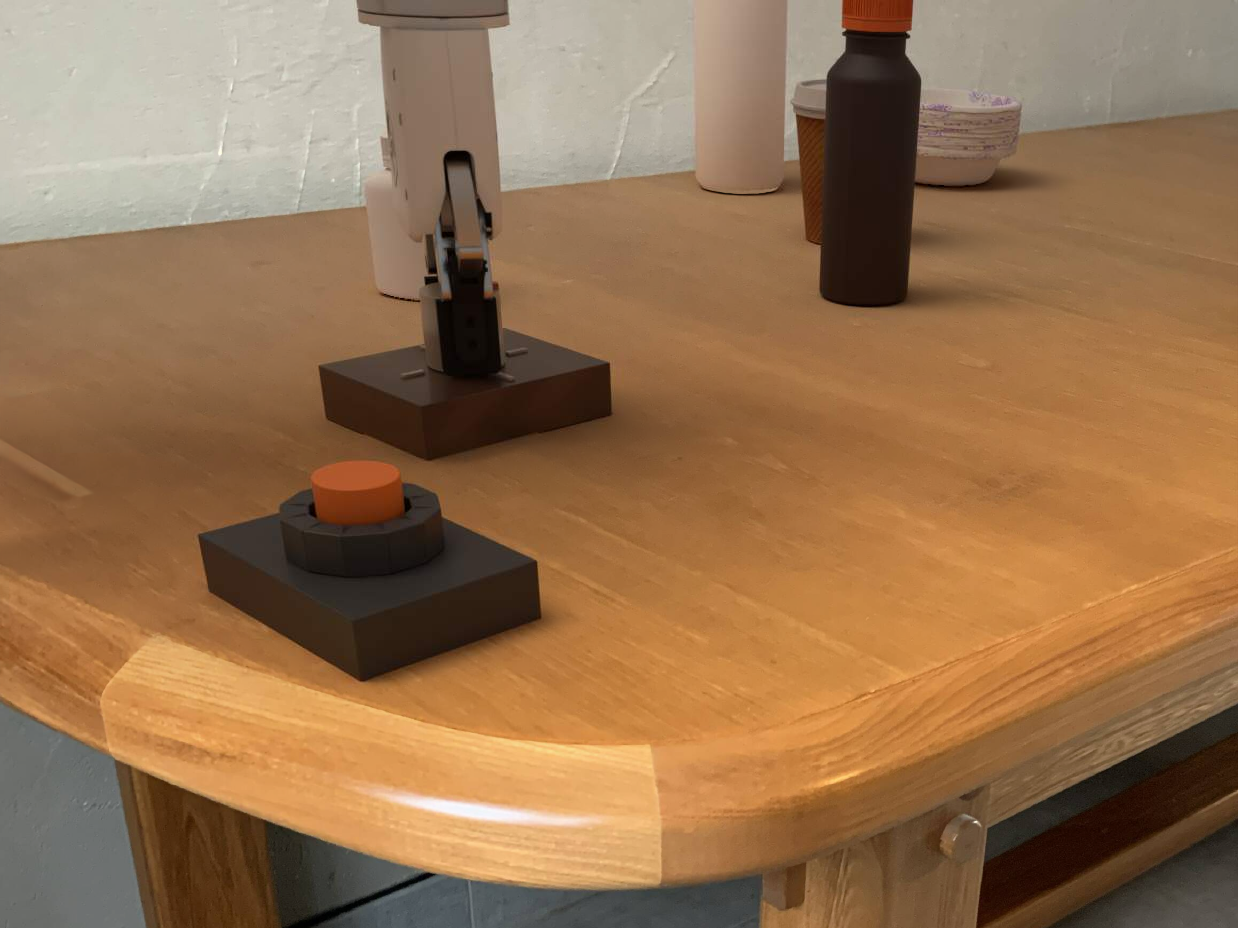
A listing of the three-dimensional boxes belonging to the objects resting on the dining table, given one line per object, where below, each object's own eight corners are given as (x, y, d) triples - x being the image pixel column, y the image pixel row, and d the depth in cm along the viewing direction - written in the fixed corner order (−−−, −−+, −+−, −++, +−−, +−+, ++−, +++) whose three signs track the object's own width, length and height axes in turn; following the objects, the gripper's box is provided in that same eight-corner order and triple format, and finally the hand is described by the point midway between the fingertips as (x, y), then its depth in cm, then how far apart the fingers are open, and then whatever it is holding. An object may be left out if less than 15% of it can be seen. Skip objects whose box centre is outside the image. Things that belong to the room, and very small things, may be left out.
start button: (347, 537, 61) (341, 495, 60) (300, 513, 63) (293, 472, 62) (422, 516, 64) (417, 475, 63) (374, 493, 66) (368, 454, 65)
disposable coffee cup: (781, 247, 129) (784, 89, 122) (793, 225, 136) (797, 75, 130) (892, 253, 128) (902, 95, 121) (898, 231, 136) (908, 81, 129)
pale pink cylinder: (777, 179, 155) (784, -176, 138) (788, 196, 148) (797, -177, 131) (692, 178, 154) (689, -180, 137) (698, 195, 147) (696, -182, 130)
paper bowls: (1041, 180, 160) (1050, 96, 156) (962, 198, 150) (970, 109, 146) (922, 161, 168) (928, 81, 163) (840, 177, 158) (844, 92, 153)
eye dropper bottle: (424, 283, 114) (405, 106, 107) (460, 299, 110) (443, 116, 104) (370, 290, 112) (347, 110, 105) (405, 306, 108) (385, 120, 101)
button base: (361, 683, 60) (345, 576, 57) (208, 592, 66) (188, 493, 64) (542, 619, 65) (535, 519, 63) (384, 541, 72) (372, 447, 69)
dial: (431, 376, 84) (423, 295, 82) (421, 354, 87) (413, 276, 85) (511, 371, 85) (505, 291, 83) (498, 350, 89) (492, 273, 86)
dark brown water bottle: (861, 281, 119) (875, -12, 108) (925, 298, 115) (947, -5, 104) (800, 293, 115) (808, -10, 104) (864, 311, 111) (881, -2, 100)
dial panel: (427, 462, 81) (420, 403, 79) (325, 418, 87) (317, 362, 85) (612, 414, 89) (610, 359, 87) (508, 376, 95) (504, 324, 93)
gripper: (342, -24, 82) (384, 325, 92) (369, 4, 68) (415, 408, 79) (482, -22, 84) (508, 320, 94) (535, 6, 70) (558, 399, 81)
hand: (465, 356), depth 86 cm, fingers closed on dial, 4 cm apart
